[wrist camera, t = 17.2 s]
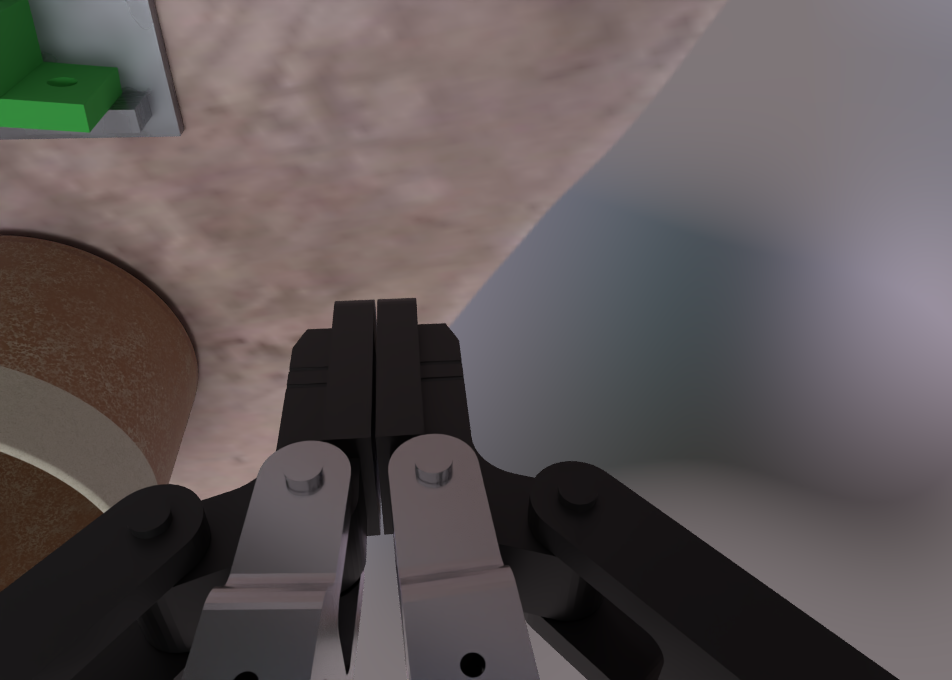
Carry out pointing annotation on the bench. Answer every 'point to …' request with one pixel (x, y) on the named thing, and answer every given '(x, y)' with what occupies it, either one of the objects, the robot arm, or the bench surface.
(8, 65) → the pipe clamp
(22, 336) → the planter
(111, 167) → the bench surface
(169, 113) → the steel channel
